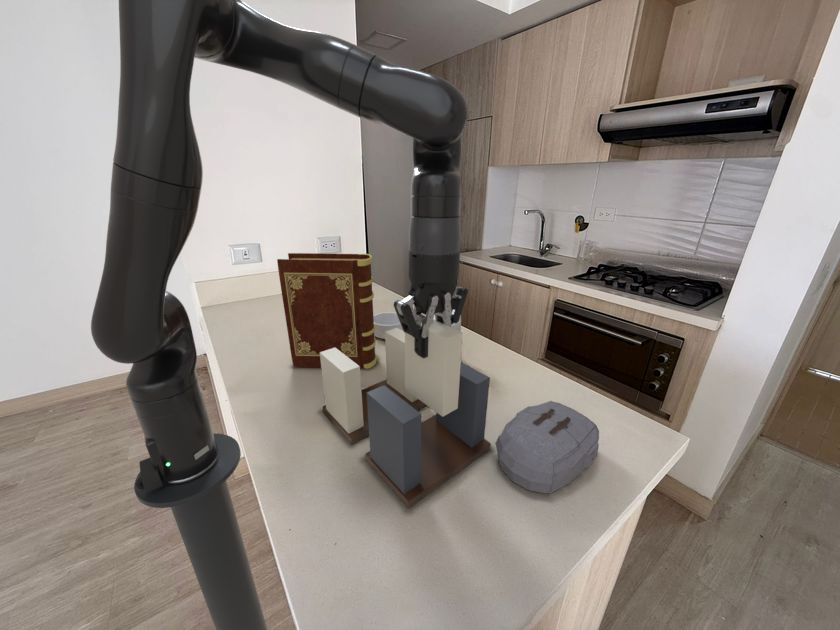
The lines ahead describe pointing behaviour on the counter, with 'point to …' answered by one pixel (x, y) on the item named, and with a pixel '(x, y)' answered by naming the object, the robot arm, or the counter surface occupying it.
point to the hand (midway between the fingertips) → (431, 351)
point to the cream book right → (396, 361)
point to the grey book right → (469, 407)
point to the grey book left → (395, 437)
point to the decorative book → (328, 306)
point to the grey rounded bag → (547, 446)
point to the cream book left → (342, 389)
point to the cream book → (435, 368)
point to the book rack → (438, 450)
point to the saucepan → (385, 323)
